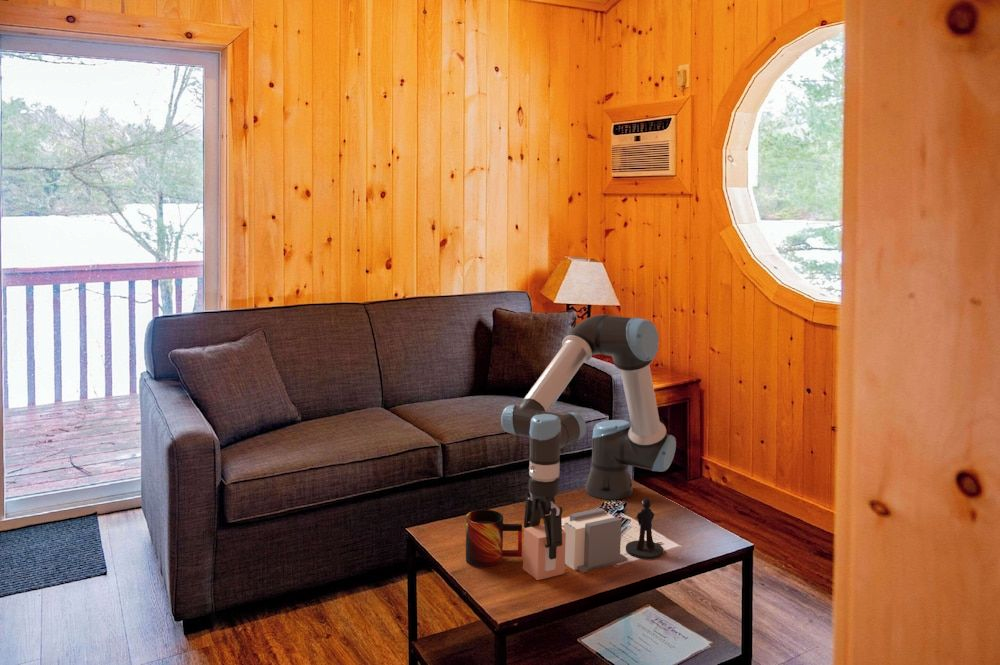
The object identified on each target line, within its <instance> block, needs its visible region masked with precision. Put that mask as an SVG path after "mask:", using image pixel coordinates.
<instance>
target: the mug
mask: <svg viewBox="0 0 1000 665" xmlns="http://www.w3.org/2000/svg"><path fill="white" fill-rule="evenodd" d="M504 532H517V533H518V534H517V549H503V545H504V542H503V541H504V540H503V539H504ZM522 536H523V523H504V515H503V513H501V512H499V511H497V510H492V509H476V510H471V511H470V512H468V513H467V514H466V517H465V562H466V564H467V565H469V566H470V567H474V568H478V569H490V568H494V567H495V568H496V567H498V566H499V565H501V564H502V563H503V558H522V557H523V556H522V555H523V537H522Z"/></svg>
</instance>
